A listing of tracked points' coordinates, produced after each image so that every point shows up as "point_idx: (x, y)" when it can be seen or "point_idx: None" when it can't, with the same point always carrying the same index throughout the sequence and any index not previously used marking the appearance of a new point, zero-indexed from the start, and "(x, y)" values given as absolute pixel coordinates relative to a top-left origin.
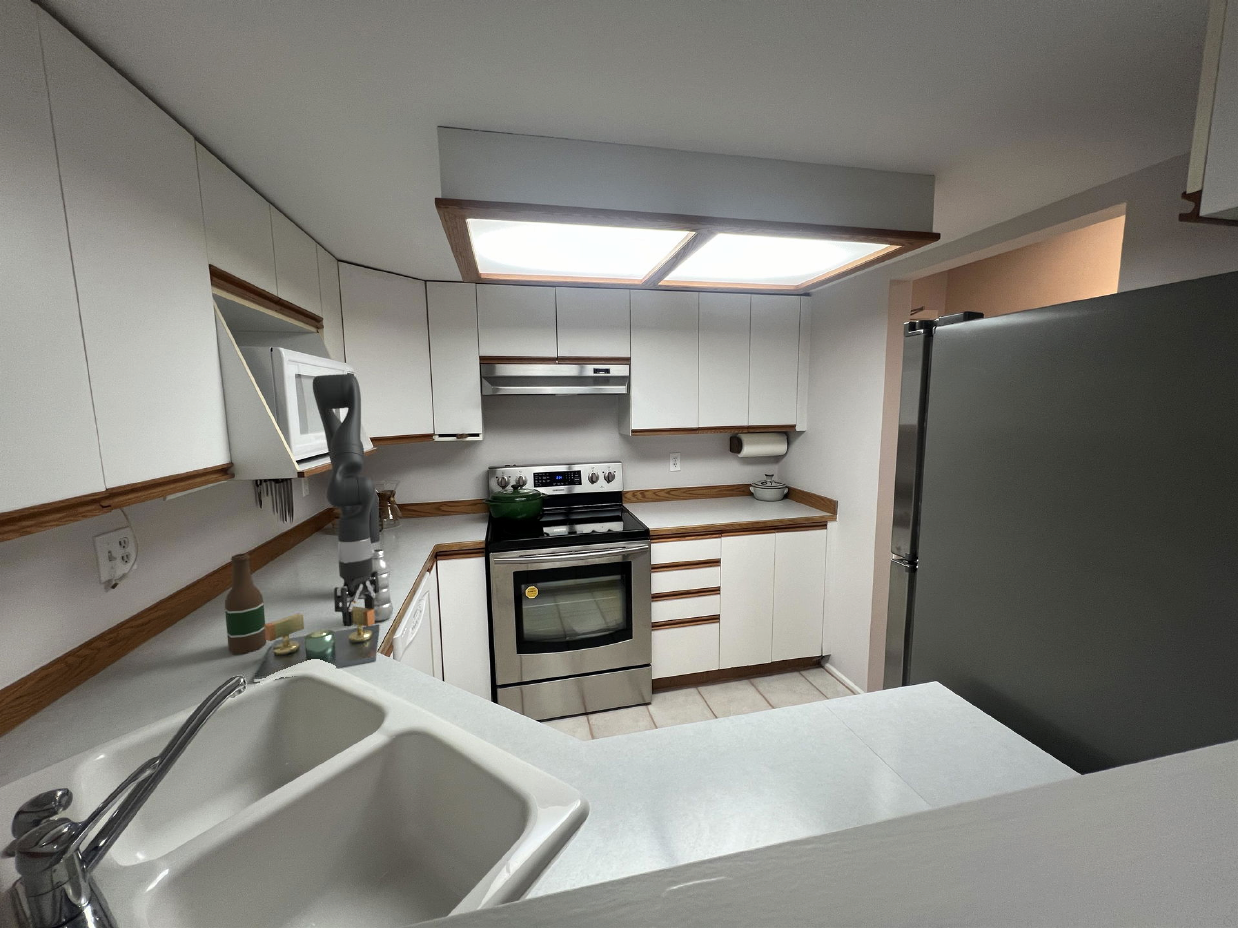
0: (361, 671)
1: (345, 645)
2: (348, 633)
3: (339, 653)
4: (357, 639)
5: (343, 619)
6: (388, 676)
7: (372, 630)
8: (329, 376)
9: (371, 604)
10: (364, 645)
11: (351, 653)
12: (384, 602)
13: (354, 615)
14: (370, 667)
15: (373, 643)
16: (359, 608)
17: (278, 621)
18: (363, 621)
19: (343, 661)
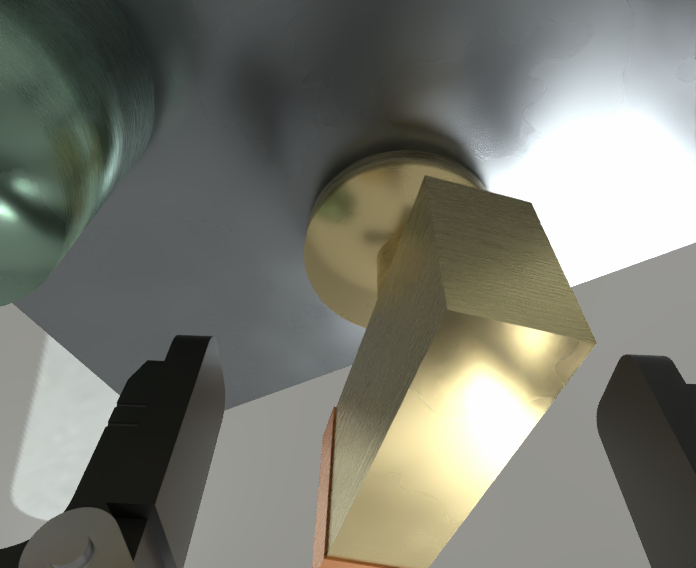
0: (49, 395)
1: (260, 180)
2: (543, 36)
3: (118, 218)
4: (311, 275)
5: (110, 431)
6: (67, 496)
7: (582, 238)
8: None
9: (636, 508)
10: (286, 316)
11: (148, 299)
12: None
13: (371, 396)
14: (103, 412)
15: (324, 354)
16: (437, 491)
17: None
18: (335, 437)
19: (32, 311)
